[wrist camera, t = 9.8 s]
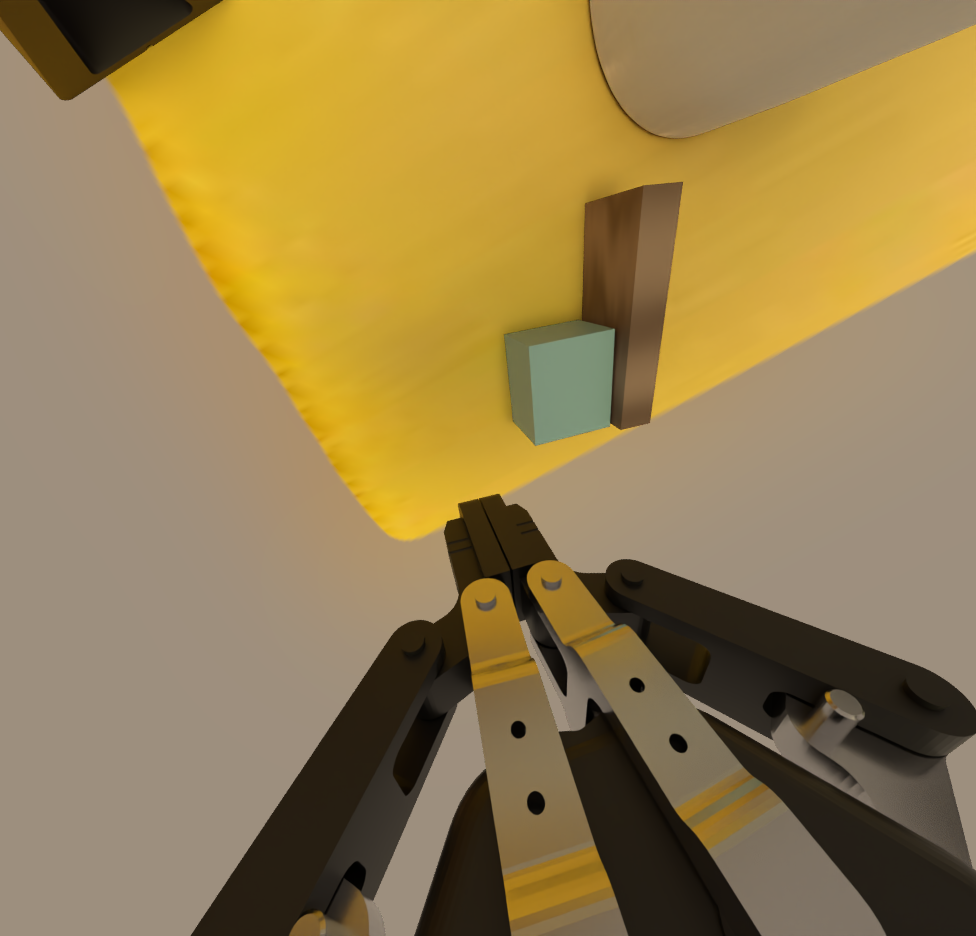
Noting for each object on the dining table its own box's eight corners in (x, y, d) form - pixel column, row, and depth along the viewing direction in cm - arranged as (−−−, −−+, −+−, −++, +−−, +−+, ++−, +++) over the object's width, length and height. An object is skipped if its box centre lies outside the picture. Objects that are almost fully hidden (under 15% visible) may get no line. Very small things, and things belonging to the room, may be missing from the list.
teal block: (503, 334, 26) (528, 346, 22) (577, 319, 27) (614, 328, 23) (512, 420, 30) (535, 445, 26) (577, 405, 31) (609, 426, 27)
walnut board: (585, 203, 24) (643, 185, 19) (617, 200, 24) (683, 181, 19) (579, 403, 31) (620, 429, 26) (604, 398, 31) (649, 423, 26)
